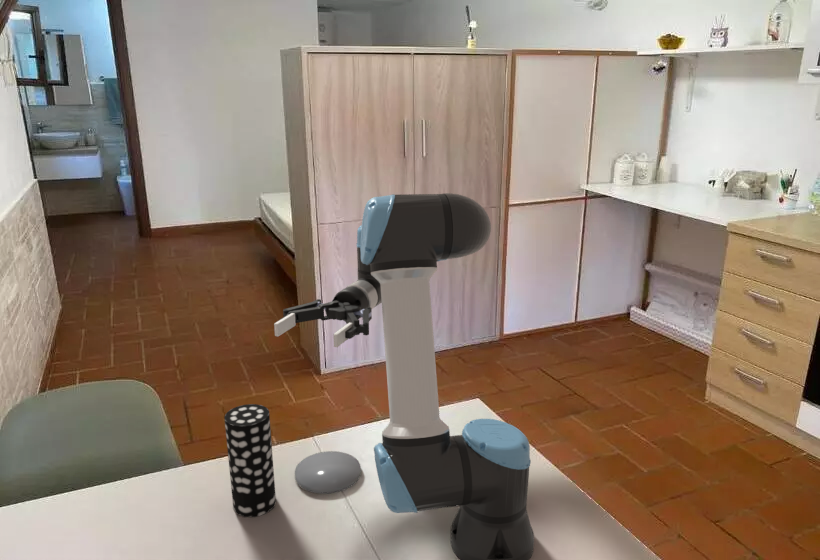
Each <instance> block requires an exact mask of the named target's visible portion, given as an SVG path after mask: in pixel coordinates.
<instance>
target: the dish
mask: <svg viewBox="0 0 820 560" xmlns="http://www.w3.org/2000/svg"><path fill="white" fill-rule="evenodd" d="M361 467H362V466H361V463H360V461H359V460H358V459H357V458H356V457H355V456H353V455H351V454H349V453H346V452H344V451H343V452H342V451H335V450H330V451H329V450H328V451H327V450H326V451H322V452H321V451H320V452H316V453H313V454H311V455H308V456H306V457H305V458H303V459H302V460H301V461H299V463H297V465H296V467H295V469H294V479H295V482H296V483H297V485H298V486H299V487H300V488H302V489H303V490H305V491H307V492H311V493H315V494H334V493H339V492H342V491H344V490H346V489H349V488H350V487H353V485H355V484H356V483H357V482H358V481H359V479H360V477H361V473H362V469H361Z"/></svg>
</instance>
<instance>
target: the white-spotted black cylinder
mask: <svg viewBox="0 0 820 560" xmlns="http://www.w3.org/2000/svg"><path fill="white" fill-rule="evenodd" d="M224 427H225V428H224V429H225V437H226V449H227V457H228V467H229V477H230V479H229V480H230V487H231V488H230V489H231V497H232V498H231V499H232V507H233V511H234V512H235V513H236V514H237V515H239V516H241V517H244V518H245V517H246V518H253V517H254V518H255V517H260V516H263V515H265V514H268V512H270V511H271V510H272V509H274V506H275V505H276V502H277V496H276V487H275V486H276V485H275V484H276V483H275V472H274V458H273V457H274V456H273V445H272V444H273V443H272V433H271V432H272V429H271V419H270V410H269V409H268V408H267V407H266V406H264V405H262V404H258V403H255V404H253V403H251V404H250V403H248V404H242V405H238V406H235V407H233V408H231V409H230V410H228V411H227V412H226V413H225V414H224Z"/></svg>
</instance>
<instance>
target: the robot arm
mask: <svg viewBox="0 0 820 560" xmlns="http://www.w3.org/2000/svg"><path fill="white" fill-rule="evenodd" d="M362 214H363V215H362V221H361V225H359V227H358V228H357V231H356V232H357V235H356V254H357V257H356V258H357V280H356V281H353V283H350V284H349V285H347V286H346V287H345V288H343V289H342V290H339V291H338V292H337V293H336V294H335V295H334V297H333V299H332V300H331V301H329V302H325V303H322V299H320V298H319V299H315V300H313V301H310V302H307V303H304V304H299V305H296V306H295V305H294V306H291V307H288V308H283V310H282V313H283V317H282V318H280V319H279V320H277V321H276V322H274V324H273V326H274V336H275V337H279V336H281V335H283V334H284V333H286V332H287V331H290V329H293V328H294V327H295V326H297V325H296V324H299V323H304V322H310V321H316V320H321V321H322V322H323V321H328V320H334V321H335V320H337V321H344V323H345V325H344V326H342V327H341V328H340V329H338V330H337V331H336V332H334V333H333V335H332V336H333V337H332V338H333V347H334V348H339V347H340V346H341V345H342V344H344V343H345V342H346V341H348V340H350V339H353V338H354V337H355V336H359V335H360V334H363V336H369V335H370V321H371V320H372V319H373V318H372V313H373V312H372V310H373V309H374V308H375V307H377V306H379V305H380V304H381V313H382V323H383V339H384V356H385V366H386V368H385V369H386V370H385V371H386V379H387V380H386V381H387V382H386V383H387V396H388V397H387V398H388V411H389V422H388V424H387V426H386V427H385V428H384V429H383V430H382V432H381V436H382V443H381V442H378V443H377V444H375V445H374V447H373V453H374V460H375V461H374V462H375V467H376V473H377V476H378V482H379V485H380V489H381V492H382V496H383V500H384V502H385V505H386V506H387V508H388V509H389V511H391V512H392V513H395V514H405V513H414V514H415V513H418V512H423V511H431V510H437V509H439V510H440V509H445V508H452V507H458V509H457V511H456V514H455V516H454V519H453V520H452V523H451V526H450V539H449V540H450V546H451V549H452V550H453V552H454V554H455V555H456V556H457V557H458V558H459V560H530V559H531V558H532V556H533V553H534V550H535V549H534V547H535V534H534V530H533V528H532V524H531V521H530V518H529V514H528V510H527V503H528V502H527V501H528V491H529V475H530V466H531V463H532V462H531V457H530V456H531V455H530V454H531V453H530V449H531V448H530V442H529V439H528V437H527V436H526V435H525V434H524V433H523V432H522V431H521V430H520V429H519V428H517V427H516V426H514V425H512V424H510V423H507V422H506V421H502V420H498V419H494V418H476V419H473V420H470V421H469V422H467V423H466V424H465V425H464V427H463V429H462V431H461V434H457V435H451V433H450V432H451V431H450V427H449V425H447V424H446V423H445V422H444V421H443V420H442V419H441V417H440V407H439V406H440V404H439V394H438V393H439V390H438V378H437V377H438V376H437V365H436V352H435V341H434V340H435V339H434V326H433V313H432V312H433V311H432V301H431V300H432V299H431V285H430V282H431V281H430V280H431V278H432V277H433V276H434V275H435V273H436V272H437V271H438V264H437V263H438V262H440V261H447V260H452V259H459V258H463V257H467V256H469V255H473V254H475V253H478V252H479V251H480V250H481V249H482V248H483V247H484V246H485V245H486V244H487V242H488V240H490V236H491V232H492V224H491V219H490V216H489V214H488V213H487V211H486V210H485V208H484V207H483V206H482V205H481V204H480V203H479V202H477V201H476V200H474V199H472V198H470V197H468V196H466V195H463V194H460V193H459V194H457V193H451V192H450V193H448V192H447V193H446V192H445V193H424V194H423V193H422V194H421V193H416V194H415V193H413V194H407V193H406V194H403V193H402V194H389V195H381V196H374V197H372V198H369V200H368V201H367V202H366V204H365V207H364V209H363V213H362ZM325 314H326V315H325ZM361 318H362V323H361V324H360V319H361Z"/></svg>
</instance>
